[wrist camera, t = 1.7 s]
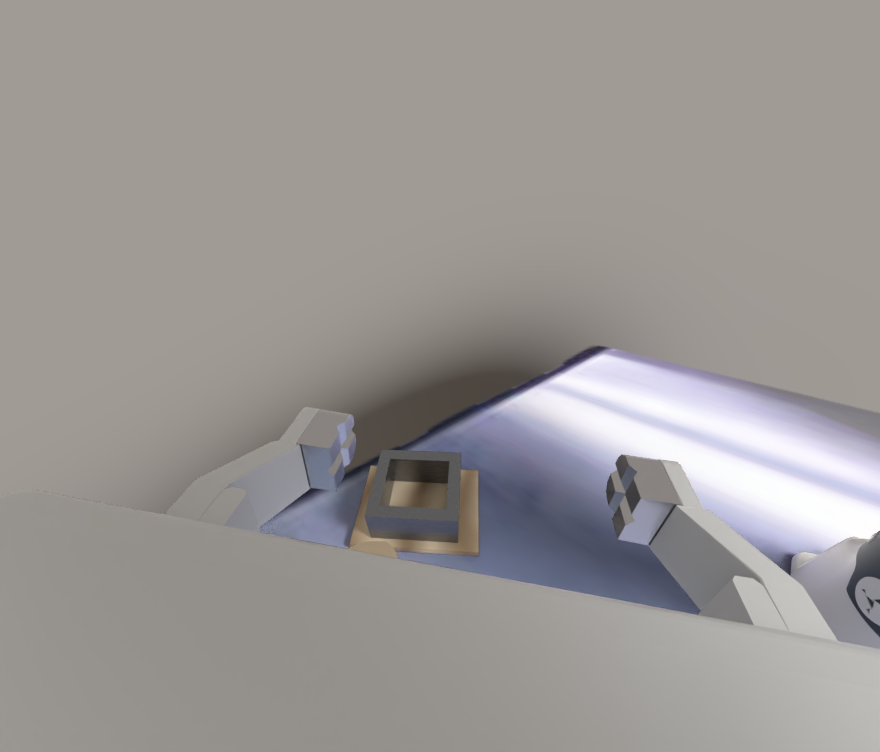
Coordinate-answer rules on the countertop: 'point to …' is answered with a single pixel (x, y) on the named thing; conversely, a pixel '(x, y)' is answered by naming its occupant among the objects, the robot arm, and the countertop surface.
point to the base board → (427, 498)
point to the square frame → (414, 519)
